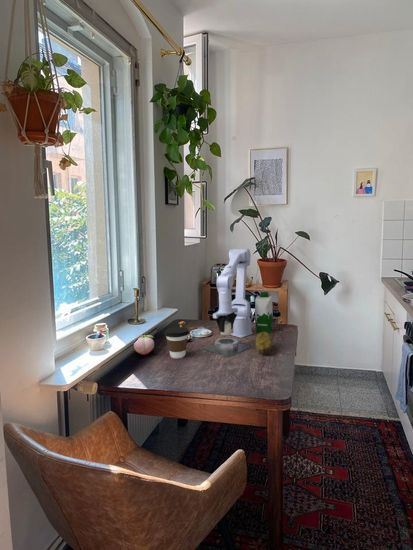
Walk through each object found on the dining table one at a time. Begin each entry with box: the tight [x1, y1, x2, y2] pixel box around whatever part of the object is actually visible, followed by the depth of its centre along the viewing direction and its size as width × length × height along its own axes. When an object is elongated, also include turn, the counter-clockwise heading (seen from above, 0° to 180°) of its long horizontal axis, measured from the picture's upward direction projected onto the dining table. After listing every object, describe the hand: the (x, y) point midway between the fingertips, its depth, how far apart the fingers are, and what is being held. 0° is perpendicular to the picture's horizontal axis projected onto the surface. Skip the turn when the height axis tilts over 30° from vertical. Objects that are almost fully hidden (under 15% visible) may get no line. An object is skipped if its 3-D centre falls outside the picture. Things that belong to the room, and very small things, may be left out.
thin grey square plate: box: [201, 337, 252, 358], centre depth 188 cm, size 16×16×4 cm
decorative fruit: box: [133, 333, 155, 356], centre depth 184 cm, size 9×8×10 cm
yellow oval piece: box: [255, 332, 273, 355], centre depth 183 cm, size 8×13×8 cm, turn 159°
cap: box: [219, 320, 232, 336], centre depth 187 cm, size 5×5×5 cm
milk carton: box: [254, 291, 274, 334], centre depth 212 cm, size 9×9×20 cm
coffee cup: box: [164, 326, 190, 359], centre depth 181 cm, size 11×11×12 cm
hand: (226, 330), depth 187 cm, fingers closed on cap, 5 cm apart
